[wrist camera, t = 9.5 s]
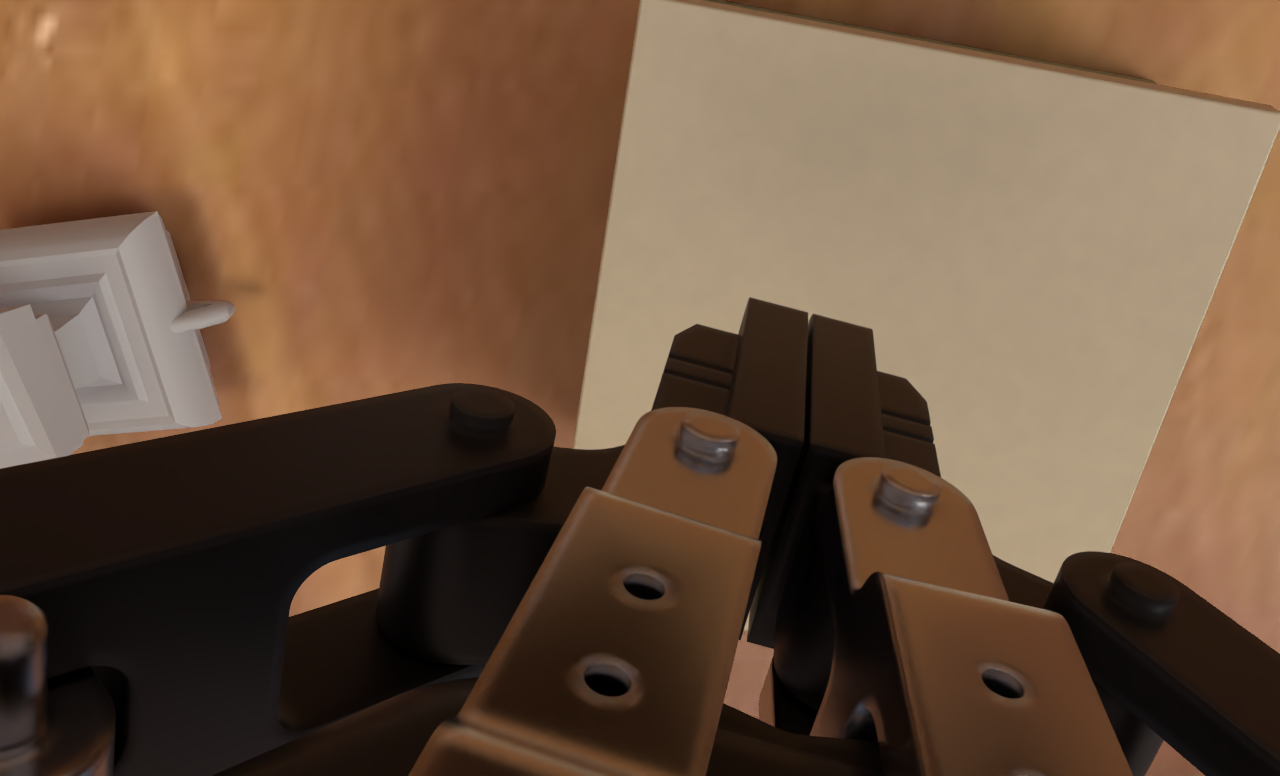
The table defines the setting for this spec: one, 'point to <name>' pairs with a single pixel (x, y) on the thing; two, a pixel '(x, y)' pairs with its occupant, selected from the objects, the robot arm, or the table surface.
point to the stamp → (98, 336)
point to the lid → (928, 242)
